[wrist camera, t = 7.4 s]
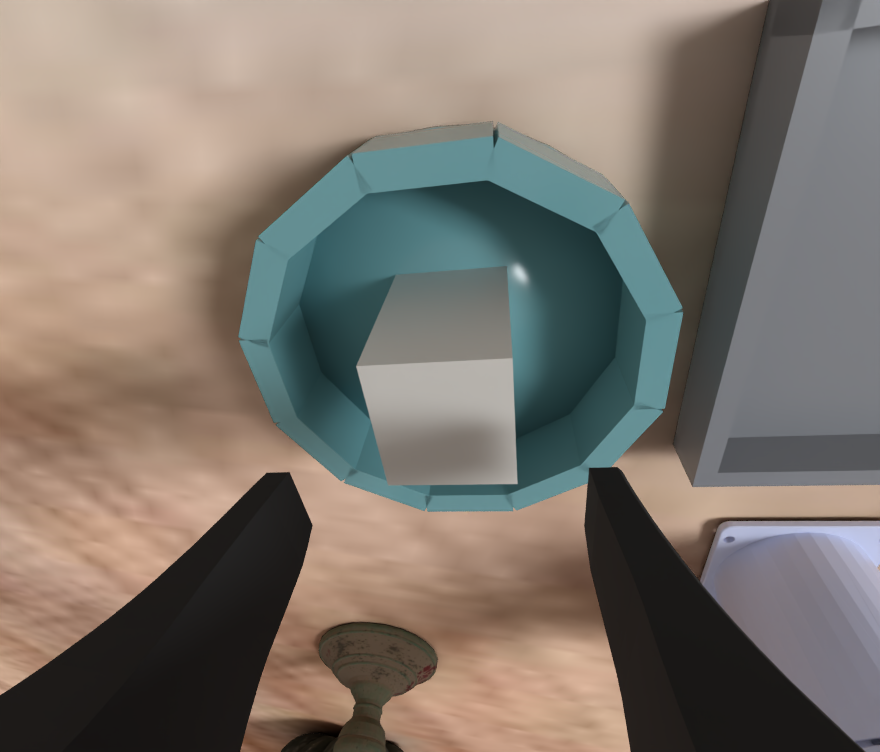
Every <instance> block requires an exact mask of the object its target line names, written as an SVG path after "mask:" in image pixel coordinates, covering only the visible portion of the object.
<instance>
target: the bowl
mask: <svg viewBox="0 0 880 752" xmlns="http://www.w3.org/2000/svg"><path fill="white" fill-rule="evenodd" d="M258 237H259V238H258V239H257V240H256V243H255V248H254V254H253V259H252V265H251V270H250V276H249V281H248V287H247V292H246V298H245V303H244V309H243V314H242V320H241V325H240V331H239V336H238V337H239V338H241V339H240V340H239V342H240V345H241V347H242V349H243V352H244V354H245V356H246V359H247V361H248V363H249V366H250V368H251V370H252V373H253V375H254V377H255V380H256V382H257V384H258V387H259V389H260V392H261V394H262V396H263V399H264V401H265V403H266V406H267V408H268V410H269V413H270V415H271V417H272V420H273V422H274V423H276V422H278V423H277V424H276V426H277V427H278V428H280V429H281V430H282V431H283V432H284V433H285V434H287V435H288V436H289V437H290V438H291V439H292V440H294V441H295V442H296V443H297V444H298V445H299V446H301V447H302V448H303V449H304V450H305V451H306V452H308V453H309V454H310V455H311V456H312V457H313V458H315V459H316V460H317V461H318V462H319V463H320V464H322V465H323V466H324V467H325V468H326V469H327V470H329V471H330V472H331V473H332V474H333V475H334V476H336V477H337V478H338V479H339V480H340V481H342V480H344V479H345V482H344V483H346V484H349V485H352V486H354V487H357V488H360V489H363V490H366V491H369V492H372V493H374V494H377V495H380V496H383V497H386V498H389V499H391V500H394V501H397V502H400V503H403V504H406V505H409V506H411V507H414V508H417V509H420V510H423V511H425V509H426V508H427V511H428V512H437V511H513V507H514V508H515V509H516V510H519V509H522V508H524V507H527V506H530V505H532V504H535V503H537V502H540V501H543V500H545V499H548V498H550V497H553V496H556V495H558V494H561V493H563V492H566V491H569V490H571V489H574V488H576V487H579V486H581V485H584V484H587V483H588V475H589V468H600V467H611V466H612V465H613V464H614V463H615V462H616V461H617V460H618V459H619V458H620V457H621V456H622V455H623V453H624V452H625V451H626V450H627V449H628V448H629V447H630V446H631V445H632V444H633V443H634V442H635V441H636V440H637V439H638V438H639V437H640V436H641V435H642V434H643V432H644V431H645V430H646V429H647V428H648V427H649V426H650V425H651V424H652V423H653V422H654V421H655V420H656V419H657V418H658V417H659V416H660V415H661V414H662V413H663V411H662V409H665V405H666V400H667V395H668V390H669V385H670V379H671V374H672V369H673V364H674V358H675V353H676V348H677V343H678V338H679V332H680V327H681V322H682V317H683V311H682V310H681V309H682V308H683V307H682V305H681V303H680V302H679V300H678V298H677V296H676V294H675V292H674V290H673V288H672V286H671V284H670V282H669V280H668V278H667V276H666V274H665V272H664V271H663V269H662V267H661V265H660V263H659V261H658V259H657V257H656V255H655V253H654V251H653V249H652V247H651V245H650V243H649V241H648V240H647V238H646V236H645V234H644V232H643V230H642V228H641V226H640V224H639V222H638V220H637V218H636V216H635V214H634V212H633V210H632V209H631V207H630V205H629V203H628V202H627V201H626V200H625V199H624V197H623V196H622V195H621V194H620V193H619V192H618V191H617V190H616V189H615V187H614V186H613V185H612V184H611V183H610V182H609V181H608V180H607V178H605V177H604V176H603V174H601V173H599V172H597V171H595V170H593V169H591V168H589V167H587V166H585V165H583V164H581V163H579V162H577V161H575V160H573V159H571V158H569V157H568V156H566V155H564V154H563V153H561V152H559V151H558V150H556V149H554V148H553V147H551V146H549V145H547V144H545V143H542V142H540V141H537V140H535V139H533V138H530V137H528V136H525V135H523V134H521V133H519V132H517V131H515V130H513V129H511V128H509V127H507V126H505V125H503V124H501V123H499V122H498V123H497V125H496V127H493V121H490V122H482V123H474V124H466V125H448V126H434V127H429V128H424V129H419V130H414V131H410V132H405V133H397V134H389V135H381V136H376V137H374V138H373V139H372V138H371V139H370V140H368V141H367V142H366V143H364V144H363V145H361V146H360V147H359V148H357V149H356V150H354V151H353V152H352V153H350V154H349V155H347V156H346V157H345V158H344V159H343V160H342V161H341V162H339V163H338V164H337V165H336V166H335V167H334V168H333V169H332V170H331V171H330V172H328V173H327V174H326V175H325V176H324V177H323V178H322V179H321V180H320V181H319V182H317V183H316V184H315V185H314V186H313V187H312V188H311V189H310V190H309V191H308V192H306V193H305V194H304V195H303V196H302V197H301V198H300V199H299V200H298V201H297V202H295V203H294V204H293V205H292V206H291V207H290V208H289V209H288V210H287V211H286V212H284V213H283V214H282V215H281V216H280V217H279V218H278V219H277V220H276V221H275V222H273V223H272V224H271V225H270V226H269V227H268V228H267V229H266V230H265V231H264V232H262V233H261V234H260V235H259V236H258ZM501 266H507V278H508V294H509V309H510V325H511V341H512V357H513V382H514V408H515V433H516V459H517V484H473V485H388V483H387V479H386V475H385V472H384V468H383V464H382V461H381V457H380V453H379V449H378V446H377V442H376V438H375V434H374V431H373V427H372V423H371V420H370V416H369V412H368V408H367V405H366V401H365V397H364V394H363V390H362V386H361V382H360V379H359V375H358V371H357V367H356V365H357V363H358V361H359V359H360V356H361V354H362V352H363V349H364V347H365V345H366V342H367V340H368V338H369V336H370V333H371V331H372V329H373V326H374V324H375V322H376V320H377V317H378V315H379V313H380V310H381V308H382V306H383V303H384V301H385V299H386V297H387V294H388V292H389V290H390V287H391V285H392V283H393V281H394V278H395V276H396V275H400V274H413V273H425V272H438V271H450V270H463V269H476V268H488V267H501Z"/></svg>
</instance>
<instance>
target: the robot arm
mask: <svg viewBox="0 0 880 752" xmlns="http://www.w3.org/2000/svg"><path fill="white" fill-rule="evenodd" d="M584 526H585V534H586V541H587V548H588V555H589V562H590V569H591V573H592V577H593V581H594V586H595V590H596V594H597V598H598V602H599V606H600V610H601V614H602V617H603V621H604V625H605V629H606V633H607V637H608V641H609V645H610V649H611V653H612V657H613V661H614V665H615V669H616V673H617V677H618V682H619V687H620V691H621V696H622V701H623V707H624V713H625V719H626V726H627V732H628V738H629V744H630V750H631V752H880V571H879V570H878V569H877V567H878V566H879V564H880V521H726V522H723V523H722V524H720V525H719V527H718V529H717V531H716V534H715V537H714V540H713V543H712V546H711V549H710V552H709V555H708V558H707V561H706V564H705V567H704V570H703V573H702V576H701V579H700V581H699V580H698V579H697V577H696V576H695V575H694V574H693V572H692V571H691V570H690V569H689V567H688V566H687V565H686V564H685V562H684V561H683V560H682V558H681V557H680V556H679V554H678V553H677V552H676V550H675V549H674V548H673V546H672V545H671V544H670V542H669V541H668V540H667V538H666V537H665V536H664V534H663V533H662V532H661V530H660V529H659V528H658V526H657V525H656V523H655V522H654V520H653V519H652V518H651V516H650V515H649V513H648V512H647V510H646V509H645V507H644V506H643V504H642V503H641V501H640V500H639V498H638V497H637V495H636V494H635V492H634V490H633V489H632V487H631V485H630V484H629V482H628V481H627V479H626V477H625V475H624V474H623V472H622V471H621V470H620V469H619V468H618V467H600V468H589V475H588V488H587V500H586V513H585V525H584ZM311 530H312V523H311V521H310V518H309V516H308V514H307V511H306V509H305V507H304V505H303V502H302V500H301V498H300V495H299V493H298V491H297V488H296V486H295V484H294V482H293V479H292V477H291V475H290V472H283V473H266V474H265V475H264V476H263V477H262V478H261V479H260V480H259V481H258V482H257V483H256V484H255V485H254V486H253V487H252V488H251V489H250V490H249V491H248V492H247V493H246V494H245V495H244V496H243V497H242V498H241V499H240V500H239V501H238V502H237V503H236V504H235V505H234V506H233V507H232V508H231V509H230V510H229V511H228V512H227V513H226V514H225V515H224V516H223V517H222V518H221V519H220V520H219V521H218V522H217V523H216V524H214V525H213V526H212V527H211V528H210V529H209V530H208V531H207V532H206V533H205V534H204V535H203V536H202V537H201V538H200V539H199V540H198V541H197V542H196V543H195V544H194V545H193V546H192V547H191V548H190V549H189V550H188V551H186V552H185V553H184V554H183V555H182V556H181V557H180V558H179V559H178V560H177V561H175V562H174V563H173V564H172V565H171V566H170V567H169V568H168V569H167V570H166V571H165V572H163V573H162V574H161V575H160V576H159V577H158V578H157V579H156V580H155V581H154V582H152V583H151V584H150V585H149V586H148V587H147V588H145V589H144V590H143V591H142V592H141V593H139V594H138V595H137V596H136V597H135V598H134V599H132V600H131V601H130V602H129V603H127V604H126V605H125V606H124V607H122V608H121V609H120V610H119V611H117V612H116V613H115V614H114V615H112V616H111V617H110V618H109V619H107V620H106V621H105V622H104V623H102V624H101V625H100V626H98V627H97V628H96V629H94V630H93V631H92V632H90V633H89V634H88V635H86V636H85V637H83V638H82V639H81V640H79V641H78V642H77V643H75V644H74V645H72V646H71V647H70V648H68V649H67V650H66V651H64V652H63V653H62V654H60V655H59V656H57V657H56V658H55V659H53V660H52V661H51V662H49V663H48V664H46V665H45V666H43V667H42V668H41V669H39V670H38V671H36V672H35V673H33V674H32V675H30V676H29V677H27V678H26V679H24V680H23V681H21V682H20V683H18V684H17V685H15V686H14V687H12V688H11V689H9V690H8V691H6V692H5V693H3V694H2V695H0V752H240V750H241V746H242V742H243V738H244V734H245V730H246V726H247V723H248V719H249V716H250V712H251V709H252V705H253V702H254V698H255V695H256V691H257V688H258V684H259V681H260V677H261V675H262V672H263V669H264V666H265V663H266V660H267V657H268V655H269V652H270V649H271V647H272V644H273V642H274V639H275V636H276V634H277V631H278V629H279V626H280V624H281V621H282V618H283V616H284V613H285V611H286V608H287V606H288V603H289V600H290V598H291V595H292V592H293V590H294V587H295V585H296V582H297V579H298V577H299V574H300V571H301V568H302V566H303V562H304V558H305V554H306V551H307V547H308V543H309V538H310V534H311Z"/></svg>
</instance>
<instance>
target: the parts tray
mask: <svg viewBox="0 0 880 752" xmlns="http://www.w3.org/2000/svg"><path fill="white" fill-rule="evenodd" d="M673 445H674V448H675V450H676V452H677V454H678V456H679V458H680V461H681V463H682V465H683V467H684V469H685V472H686V474H687V476H688V478H689V480H690V482H691V485H692V487H726V486H811V485H880V0H769V4H768V9H767V14H766V18H765V23H764V28H763V32H762V37H761V41H760V46H759V51H758V55H757V60H756V64H755V69H754V74H753V78H752V83H751V88H750V92H749V97H748V101H747V106H746V111H745V115H744V120H743V124H742V129H741V134H740V138H739V143H738V148H737V152H736V157H735V161H734V166H733V171H732V175H731V180H730V184H729V189H728V194H727V198H726V203H725V207H724V212H723V217H722V221H721V226H720V231H719V235H718V240H717V244H716V249H715V254H714V258H713V263H712V267H711V272H710V277H709V281H708V286H707V291H706V295H705V300H704V304H703V309H702V314H701V318H700V323H699V327H698V332H697V337H696V341H695V346H694V351H693V355H692V360H691V364H690V369H689V374H688V378H687V383H686V387H685V392H684V397H683V401H682V406H681V411H680V415H679V420H678V424H677V429H676V434H675V438H674V443H673Z"/></svg>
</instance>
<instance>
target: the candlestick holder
mask: <svg viewBox="0 0 880 752" xmlns="http://www.w3.org/2000/svg"><path fill="white" fill-rule="evenodd" d="M319 654H320V658H321V659H322V661H323V662H324V664H325V665H326V666H328V667H329V668H330V669H331V670H332V671H333V673H334V675H335V676H336V678H338V680H339V681H340V683H342V684H343V685H344V686H345V687H347V688H349V689H351V693H352V695H353V697H354V699H355V701H356V704H355V706H354V708H353V709H354V712H353V716H352V718H351V719H350V720H349V721H348V722H347V723H346V724H345V725H344V726H343V728H342V730H341V732H340V734H339V737H338V740H337V741H336V743H335V745H334V748H333V752H386V749H385V743H386V741H385V732H384V730H383V728H382V726H381V724H380V718H381V715H382V706H383V705H384V704H385V703H387V702H388V701H389V700H390V699H391V697H392V696H398V695H402V694H404V693H406V692H407V691H409V690H411V689H412V688H414V687H415V686H416V685H418V684H421V683H424V682H425V681H427V680H429V679H430V678H431V677H432V676H433V675H434V673H435V672H436V668H437V660H438V659H437V656H436V654H435V652H434V650H433V649H432V648H431V647H430V646H429V645H428V643H427V642H426V641H424V640H422V639H421V638H419V637H418V636H416V635H415V634H412V633H410V632H407V631H405V630H403V629H400V628H396V627H392V626H388V625H383V624H375V623H352V624H346V625H341V626H338V627H336V628H334V629H331V630H329V631H328V632H327V633H326V634H325V635H324V636H323V637H322V639H321V642H320V644H319Z"/></svg>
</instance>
